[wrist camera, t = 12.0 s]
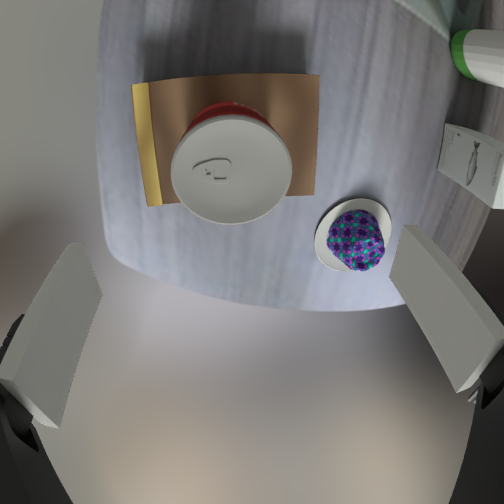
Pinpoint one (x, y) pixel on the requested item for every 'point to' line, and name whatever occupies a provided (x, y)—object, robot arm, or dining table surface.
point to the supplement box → (474, 163)
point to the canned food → (230, 165)
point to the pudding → (353, 236)
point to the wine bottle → (480, 55)
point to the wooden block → (223, 90)
